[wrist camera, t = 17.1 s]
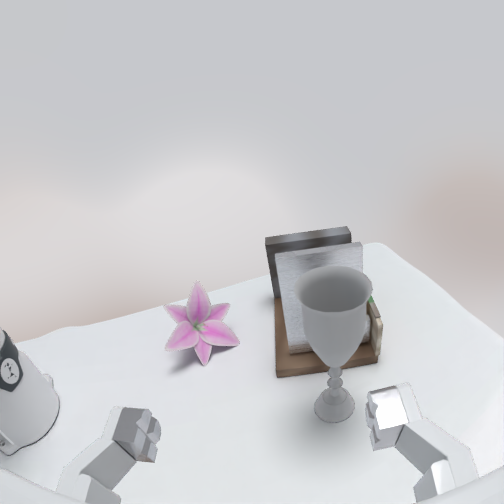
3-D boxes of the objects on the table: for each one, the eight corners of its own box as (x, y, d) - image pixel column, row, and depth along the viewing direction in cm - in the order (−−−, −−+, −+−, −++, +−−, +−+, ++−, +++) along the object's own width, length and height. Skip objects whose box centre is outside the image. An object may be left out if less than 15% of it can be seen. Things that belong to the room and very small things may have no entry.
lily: (166, 378, 45) (168, 350, 38) (156, 316, 52) (158, 281, 46) (238, 369, 49) (253, 341, 43) (221, 312, 57) (232, 278, 51)
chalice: (299, 394, 37) (283, 277, 29) (347, 377, 38) (347, 258, 30) (319, 437, 30) (312, 323, 23) (371, 416, 31) (388, 296, 24)
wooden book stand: (277, 377, 40) (264, 309, 35) (275, 295, 58) (265, 237, 53) (379, 362, 39) (386, 291, 34) (350, 285, 57) (348, 226, 51)
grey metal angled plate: (289, 353, 42) (275, 258, 35) (286, 314, 50) (273, 227, 43) (368, 341, 40) (372, 244, 34) (355, 304, 48) (353, 216, 42)
